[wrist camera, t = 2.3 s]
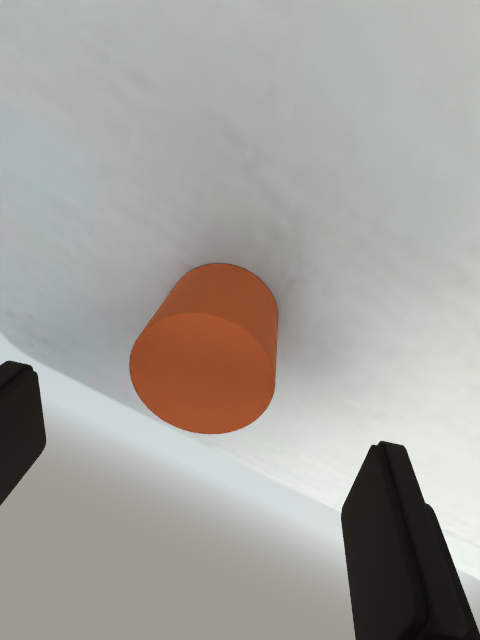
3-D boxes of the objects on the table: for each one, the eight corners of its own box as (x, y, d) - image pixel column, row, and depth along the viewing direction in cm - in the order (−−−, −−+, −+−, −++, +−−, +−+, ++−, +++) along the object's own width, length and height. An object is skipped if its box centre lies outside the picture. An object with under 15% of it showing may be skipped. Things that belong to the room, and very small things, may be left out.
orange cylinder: (165, 350, 18) (127, 419, 14) (172, 253, 16) (129, 298, 12) (265, 370, 18) (260, 446, 14) (289, 275, 16) (290, 330, 11)
